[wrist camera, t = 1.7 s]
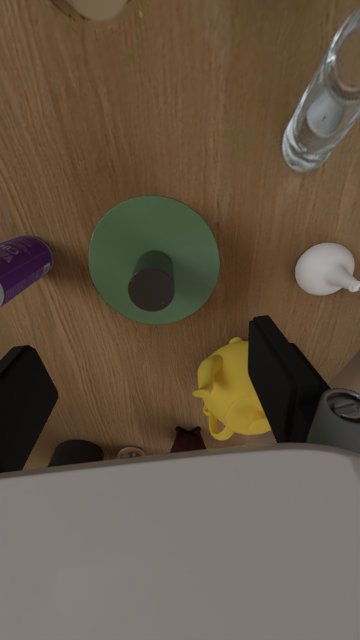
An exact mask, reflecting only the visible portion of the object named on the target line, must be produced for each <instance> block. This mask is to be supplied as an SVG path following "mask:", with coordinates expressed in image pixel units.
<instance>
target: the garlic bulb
mask: <svg viewBox="0 0 360 640" xmlns="http://www.w3.org/2000/svg"><path fill="white" fill-rule="evenodd" d="M354 267H355V263H354V258H353V256H352V254H351V252H350V251H349V250H348V249H347V248H345V247H344V246H342V245H339V244H336V243H321V244H318V245H315V246H313V247H311V248H310V249H308V250H307V251H305V252H304V253H303V254H302V256H301V257H300V258H299V260H298V262H297V264H296V267H295V278H296V281H297V283H298V284H299V286H300V287H301V288H302V289H303V290H305V291H306V292H308V293H310V294H313V295H328V294H331V293H334V292H336V291H338V290H340V289H341V288H345V289H348V290H349V291H351V292H356V291H358V290H359V287H360V281H357V280H356V278H355V277H354V276H352V275H353V272H354Z"/></svg>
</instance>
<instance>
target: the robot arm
mask: <svg viewBox="0 0 360 640" xmlns="http://www.w3.org/2000/svg"><path fill="white" fill-rule="evenodd" d="M248 375H249V378H250V380H251V382H252V385H253V387H254V389H255V392H256V394H257V396H258V399H259V401H260V403H261V406H262V408H263V411H264V413H265V415H266V418H267V420H268V422H269V425H270V427H271V429H272V432H273V434H274V436H275V439H276V441H277V443H269V444H255V445H246V446H234V447H223V448H213V449H204V450H195V451H186V452H177V453H168V454H159V455H149V456H141V457H132V458H123V459H114V460H106V461H97V462H88V463H80V464H71V465H63V466H54V467H46V468H38V469H30V470H22V469H23V467H24V465H25V463H26V461H27V459H28V457H29V455H30V453H31V451H32V449H33V447H34V445H35V443H36V441H37V439H38V437H39V435H40V433H41V431H42V429H43V427H44V425H45V424H46V422H47V420H48V418H49V416H50V414H51V412H52V410H53V408H54V406H55V404H56V402H57V400H58V391H57V389H56V387H55V385H54V384H53V382H52V380H51V378H50V376H49V374H48V372H47V370H46V368H45V366H44V364H43V362H42V361H41V359H40V357H39V355H38V353H37V351H36V349H34V348H32V347H31V346H29V345H25V346H17V347H13V348H12V349H11V350H10V351H9V352H8V353H7V354H6V355H5V356H4V357H3V358H2V359H1V360H0V640H360V394H359V393H357V392H355V391H352V390H348V389H344V388H333V389H331V388H330V387H329V386H328V385H327V383H326V382H325V381H324V380H323V378H322V377H321V376H320V375H319V373H318V372H317V371H316V370H315V368H314V367H313V366H312V365H311V363H310V362H309V361H308V360H307V358H306V357H305V356H304V355H303V353H302V352H301V351H300V350H299V348H298V347H297V346H296V345H295V344H294V343H289V342H288V340H287V339H286V338H285V336H284V335H283V334H282V333H281V331H280V330H279V329H278V327H277V326H276V325H275V323H274V322H273V321H272V320H271V318H270V317H269V316H268V315H266V316H258V317H254V318H253V321H250V322H249V340H248Z"/></svg>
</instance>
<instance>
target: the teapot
mask: <svg viewBox="0 0 360 640" xmlns="http://www.w3.org/2000/svg"><path fill="white" fill-rule="evenodd" d="M198 386H199V389H198V390H195V391H194V392H193V393H192V395H193V396H195V397H202V398H203V401H204V403H205V405H204V407H203V411H204V413H205V415H206V416H209V430H210V433H211V435H212V436H213V437H214V438H215V439H218V440H226V439H228V438H230V437H231V436H232V435H233V433H234V432H237V433H240V434H245V435H256V434H261V433H265V432H267V431H270V430H272V429H271V427H270V425H269V422H268V420H267V418H266V415H265V413H264V411H263V408H262V406H261V403H260V401H259V399H258V396H257V394H256V392H255V389H254V387H253V385H252V382H251V380H250V378H249V375H248V341H243V339H242V338H239V337H235V338H233V339H231V340H230V341H229V344H228V345H225V346H223V347H221V348H219V349H218V350H216V351H215V352H214V353H212V354H211V355H210V356H209V357H208V358H206V359H205V360H204V361H203V362H202V363H201V364H200V366H199V368H198ZM218 420H220V421H221V422H222V423H223V424H224V425H225V426H226V427H225V428H224V429H223V430H222V431H221V432H220V433H219V432H218Z"/></svg>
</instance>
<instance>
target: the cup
mask: <svg viewBox="0 0 360 640" xmlns="http://www.w3.org/2000/svg"><path fill="white" fill-rule="evenodd" d="M103 459H104V453H103V451H102V450H101V448H99V447H98V446H97V445H95V444H93V443H91V442H87V441H83V440H70V441H65V442H63V443H61V444H59V445H58V446H57V447H56V449H55V451H54V453H53V455H52V457H51V460H50V462H49V464H48V467H54V466H63V465H71V464H80V463H88V462H97V461H103Z"/></svg>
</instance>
